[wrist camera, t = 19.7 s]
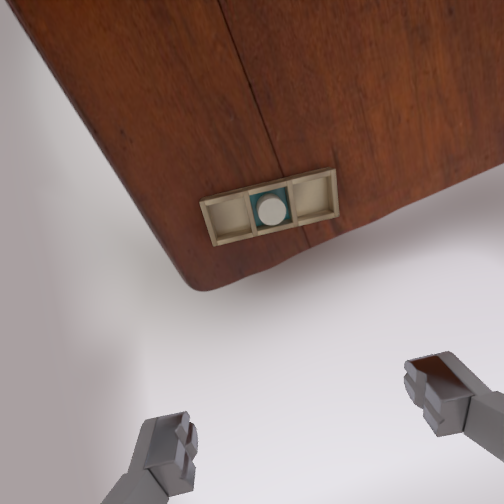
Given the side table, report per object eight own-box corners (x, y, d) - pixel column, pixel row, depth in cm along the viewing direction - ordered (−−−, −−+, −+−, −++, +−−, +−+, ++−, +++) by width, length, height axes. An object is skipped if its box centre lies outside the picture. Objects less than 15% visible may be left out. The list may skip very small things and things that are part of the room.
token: (259, 221, 37) (261, 228, 34) (253, 196, 35) (255, 202, 32) (283, 215, 36) (288, 222, 34) (279, 190, 35) (283, 195, 32)
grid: (214, 240, 38) (213, 246, 36) (200, 197, 35) (198, 202, 33) (333, 211, 37) (339, 216, 35) (329, 166, 35) (335, 168, 33)
